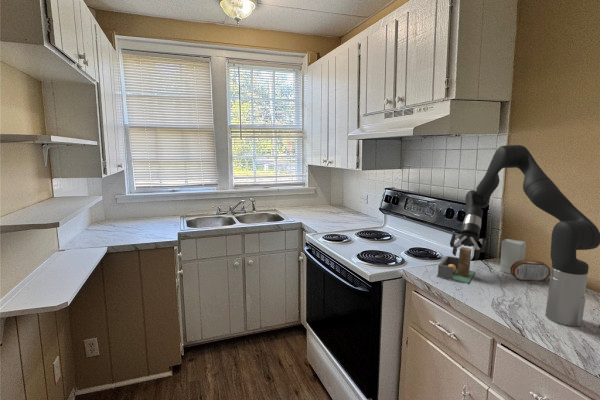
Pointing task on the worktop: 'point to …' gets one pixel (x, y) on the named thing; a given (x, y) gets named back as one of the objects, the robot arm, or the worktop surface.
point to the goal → (448, 273)
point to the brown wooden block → (464, 262)
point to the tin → (530, 270)
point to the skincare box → (511, 253)
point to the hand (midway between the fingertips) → (464, 256)
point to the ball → (453, 267)
